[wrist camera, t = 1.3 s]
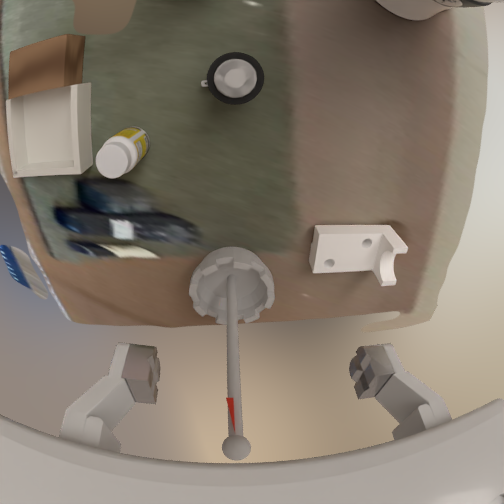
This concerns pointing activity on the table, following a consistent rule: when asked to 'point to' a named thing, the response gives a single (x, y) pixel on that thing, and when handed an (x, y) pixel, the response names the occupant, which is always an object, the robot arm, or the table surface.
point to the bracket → (356, 250)
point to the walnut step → (46, 65)
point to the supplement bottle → (122, 152)
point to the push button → (235, 78)
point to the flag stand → (232, 318)
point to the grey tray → (50, 131)
